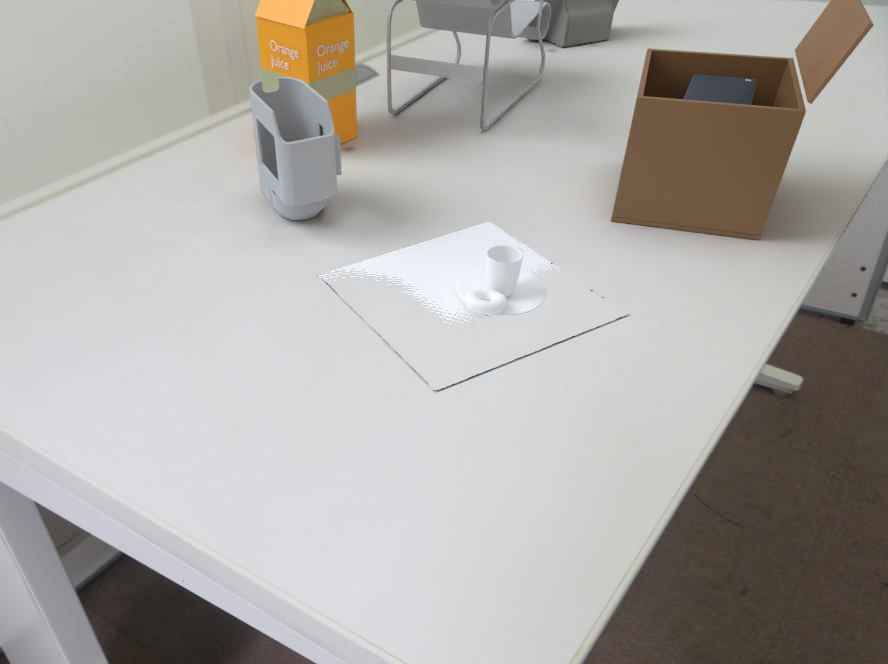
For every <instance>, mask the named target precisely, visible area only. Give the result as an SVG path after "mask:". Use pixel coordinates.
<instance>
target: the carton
mask: <svg viewBox="0 0 888 664" xmlns="http://www.w3.org/2000/svg"><path fill="white" fill-rule="evenodd" d="M794 59H795V58H794V57H783V56H782V57H781V56H770V55H769V56H768V55H753V54H752V55H751V54H739V53H738V54H736V53H735V54H734V53H720V52H708V51H707V52H706V51H692V50H677V49H661V48H646V53H645V56H644V63H643V66H642V71H641V76H640V80H639V86H638V91H637V95H636V99H635V105H634V109H633V114H632V118H631V123H630V128H629V132H628V137H627V141H626V147H625V152H624V155H623V161H622V164H621V169H620V175H619V180H618V184H617V189H616V194H615V199H614V202H613V203H614V204H613V208H612V213H611V218H610V222H613V223H615V222H616V223H622V224H629V223H630V225H636V226H637V225H638V226H645V227H653V228H662V229H669V230H675V231H676V230H678V231H685V232H693V233H699V234H700V233H701V234H709V235H717V236H723V237H732V238H739V239H745V240H746V239H747V240H754V241H755V240H756V241H760V240H761V237H762V234H763V232H764V229H765V226H766V223H767V221H768V218H769V216H770V212H771V209H772V207H773V204H774V201H775V198H776V196H777V193H778V190H779V187H780V184H781V182H782V180H783V178H784V177H783V176H784V175H785V171H786V168H787V165H788V163H789V160H790V158H791V155H792V152H793V149H794V146H795V143H796V141H797V138H798V135H799V132H800V129H801V127H802V124H803V121H804V118H805V116H806V113H807V109H806V105H805V101H804V97H803V92H802V89H801V84H800V80H799V76H798V72H797V68H796V63H795V60H794ZM694 74H699V75H712V76H725V77H737V78H749V79H756V80H757V83H756V87H755V91H754V95H753V99H752V102H751V105H746V104H733V103H721V102H709V101H697V100H685V99H684V97H685V95H686V92H687V90H688V87H689V85H690V83H691V80H692V78H693V76H694Z"/></svg>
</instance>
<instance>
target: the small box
mask: <svg viewBox="0 0 888 664" xmlns="http://www.w3.org/2000/svg"><path fill="white" fill-rule="evenodd" d="M756 83H757V80H756V79H749V78H737V77H725V76H712V75H699V74H694V76H693V78H692V80H691V83H690V85H689V87H688V90H687V92H686V95H685V97H684V99H685V100H697V101H709V102H721V103H733V104H746V105H751V102H752V99H753V95H754V91H755V87H756Z"/></svg>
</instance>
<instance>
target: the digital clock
mask: <svg viewBox="0 0 888 664" xmlns="http://www.w3.org/2000/svg"><path fill="white" fill-rule="evenodd" d="M533 1H537V2H540V0H533ZM544 2H548V3H549V4H550V6H551V17H550V23H549V27H548V30H547V33H546V35H545V37H544V38H543V39H542V40H545V39H546V40H545V41H547V40H548V42H549V41H550V42H549V43H551V42H552V43H551V44H553V43H555V44H556V46H557V47H560V48H566V47H574V46H580V45H585V43H586V44H592V43H597V42H603V40H604V41H608V40H610V37H611V31H612V25H613V20H614V13H615V11H616V9H617V7H618V4H619V2H620V0H544ZM525 39H526V40H528V41H538V40H537V39H529V38H525ZM591 42H592V43H591ZM555 44H554V45H555ZM579 44H580V45H579ZM573 45H574V46H573Z"/></svg>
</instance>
